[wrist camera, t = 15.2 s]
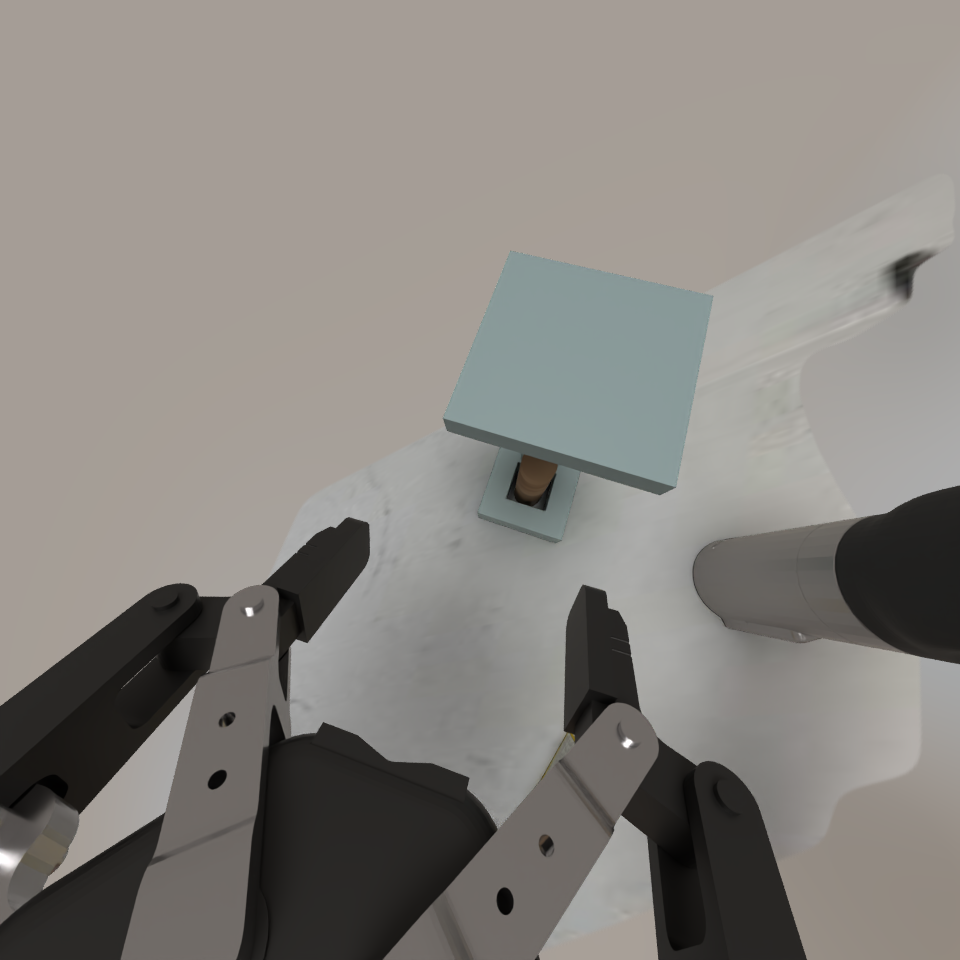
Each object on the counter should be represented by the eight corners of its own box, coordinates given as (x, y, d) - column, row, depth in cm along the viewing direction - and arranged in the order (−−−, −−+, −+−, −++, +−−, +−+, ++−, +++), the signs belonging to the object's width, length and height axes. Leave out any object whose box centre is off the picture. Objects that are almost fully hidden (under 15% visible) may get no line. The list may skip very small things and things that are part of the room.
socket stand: (560, 544, 41) (676, 487, 15) (475, 516, 43) (442, 418, 16) (582, 464, 44) (713, 295, 18) (501, 440, 45) (510, 250, 19)
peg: (544, 503, 43) (562, 476, 31) (518, 509, 43) (526, 485, 31) (536, 478, 44) (551, 442, 32) (511, 484, 44) (516, 451, 32)
